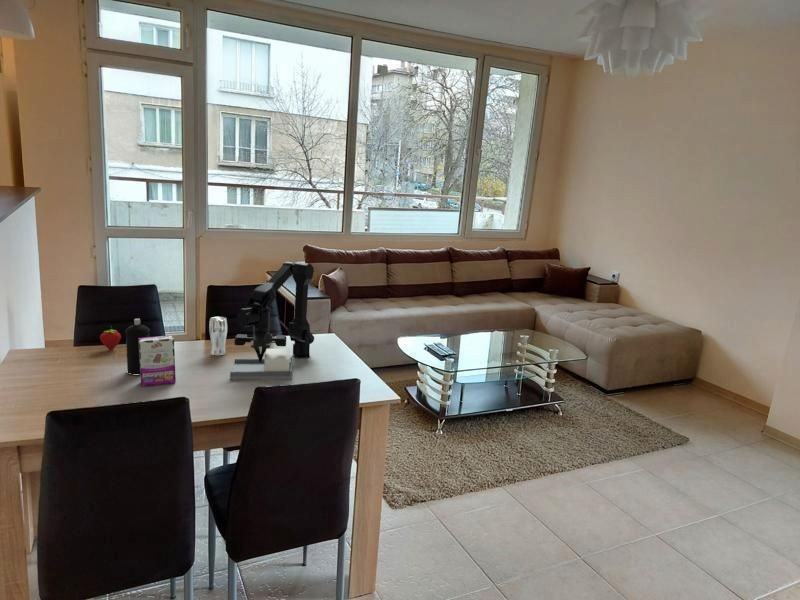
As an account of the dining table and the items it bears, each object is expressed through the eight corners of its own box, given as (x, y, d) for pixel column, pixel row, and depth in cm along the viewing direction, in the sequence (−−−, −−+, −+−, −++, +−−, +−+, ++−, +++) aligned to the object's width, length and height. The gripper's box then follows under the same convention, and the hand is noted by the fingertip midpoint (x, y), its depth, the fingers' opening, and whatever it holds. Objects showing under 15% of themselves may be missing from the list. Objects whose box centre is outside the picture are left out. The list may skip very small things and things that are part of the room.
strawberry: (100, 348, 217) (99, 325, 215) (121, 347, 221) (120, 323, 219) (100, 353, 212) (99, 328, 210) (121, 351, 216) (120, 327, 214)
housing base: (291, 364, 214) (292, 357, 213) (291, 379, 198) (291, 371, 198) (234, 364, 209) (234, 356, 209) (230, 379, 194) (230, 371, 193)
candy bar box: (174, 378, 192) (173, 334, 188) (175, 383, 188) (174, 338, 184) (140, 382, 187) (138, 337, 183) (140, 387, 182) (138, 341, 179)
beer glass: (221, 357, 217) (221, 321, 214) (206, 355, 218) (205, 319, 215) (230, 352, 224) (230, 317, 220) (215, 350, 225) (214, 315, 222)
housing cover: (289, 362, 212) (289, 348, 210) (289, 373, 200) (289, 359, 198) (266, 362, 210) (266, 348, 209) (264, 373, 198) (264, 359, 197)
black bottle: (156, 370, 198) (154, 318, 194) (137, 377, 191) (135, 323, 186) (140, 366, 201) (138, 315, 197) (121, 372, 194) (119, 319, 189)
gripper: (233, 327, 190) (232, 368, 193) (286, 329, 194) (284, 369, 197) (236, 319, 201) (235, 358, 204) (287, 321, 204) (285, 359, 208)
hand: (260, 361), depth 203 cm, fingers closed
